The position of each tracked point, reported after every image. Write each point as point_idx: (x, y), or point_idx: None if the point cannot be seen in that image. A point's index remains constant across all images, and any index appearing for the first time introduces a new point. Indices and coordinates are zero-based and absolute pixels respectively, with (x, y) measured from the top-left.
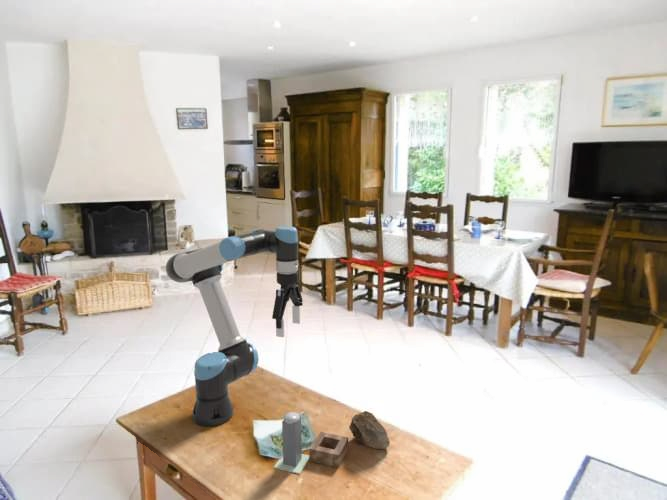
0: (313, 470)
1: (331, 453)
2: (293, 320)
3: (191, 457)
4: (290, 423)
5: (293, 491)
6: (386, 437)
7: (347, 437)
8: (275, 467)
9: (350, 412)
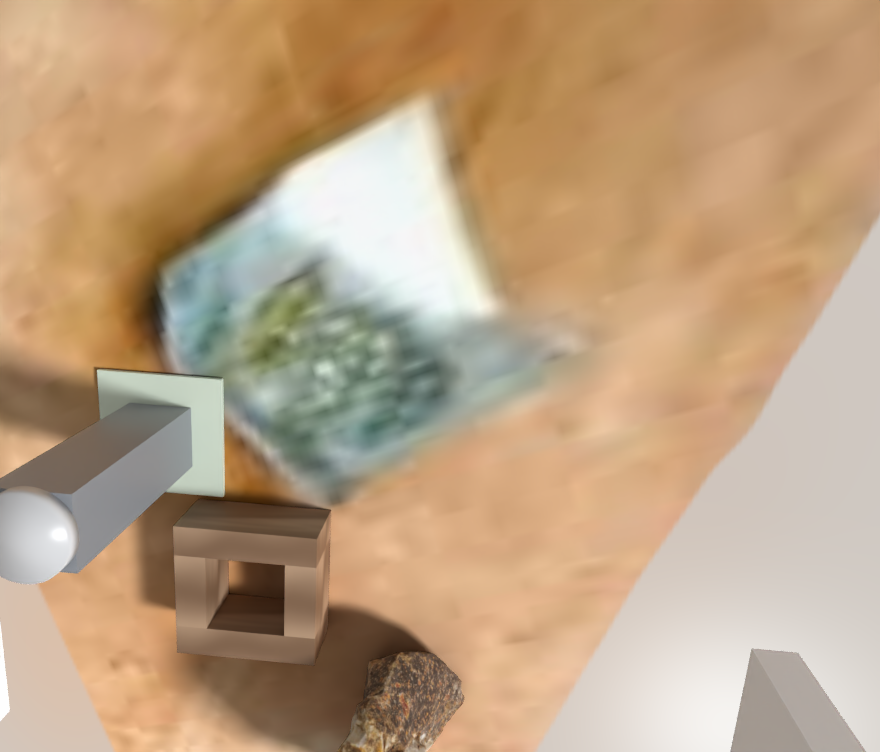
0: (150, 528)
1: (176, 622)
2: (771, 711)
3: None
4: None
5: None
6: None
7: (312, 661)
8: (97, 378)
9: (626, 582)
